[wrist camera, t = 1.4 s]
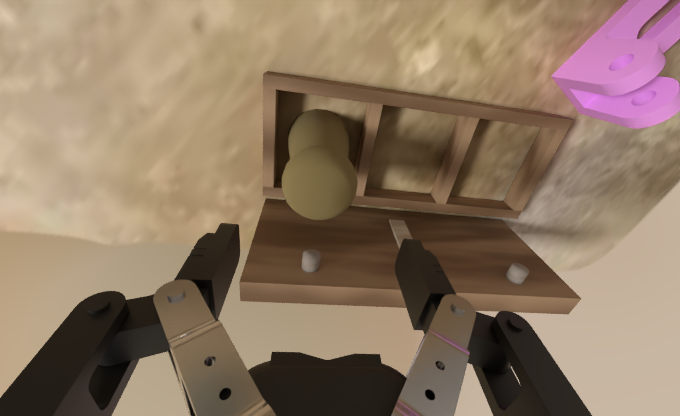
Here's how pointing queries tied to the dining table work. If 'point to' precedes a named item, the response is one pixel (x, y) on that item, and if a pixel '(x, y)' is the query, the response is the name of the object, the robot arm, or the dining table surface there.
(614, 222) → the dining table surface
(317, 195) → the olive bulbous cylinder
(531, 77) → the dining table surface
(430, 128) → the dining table surface
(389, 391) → the robot arm
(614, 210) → the dining table surface
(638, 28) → the bracket
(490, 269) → the wooden peg rack
